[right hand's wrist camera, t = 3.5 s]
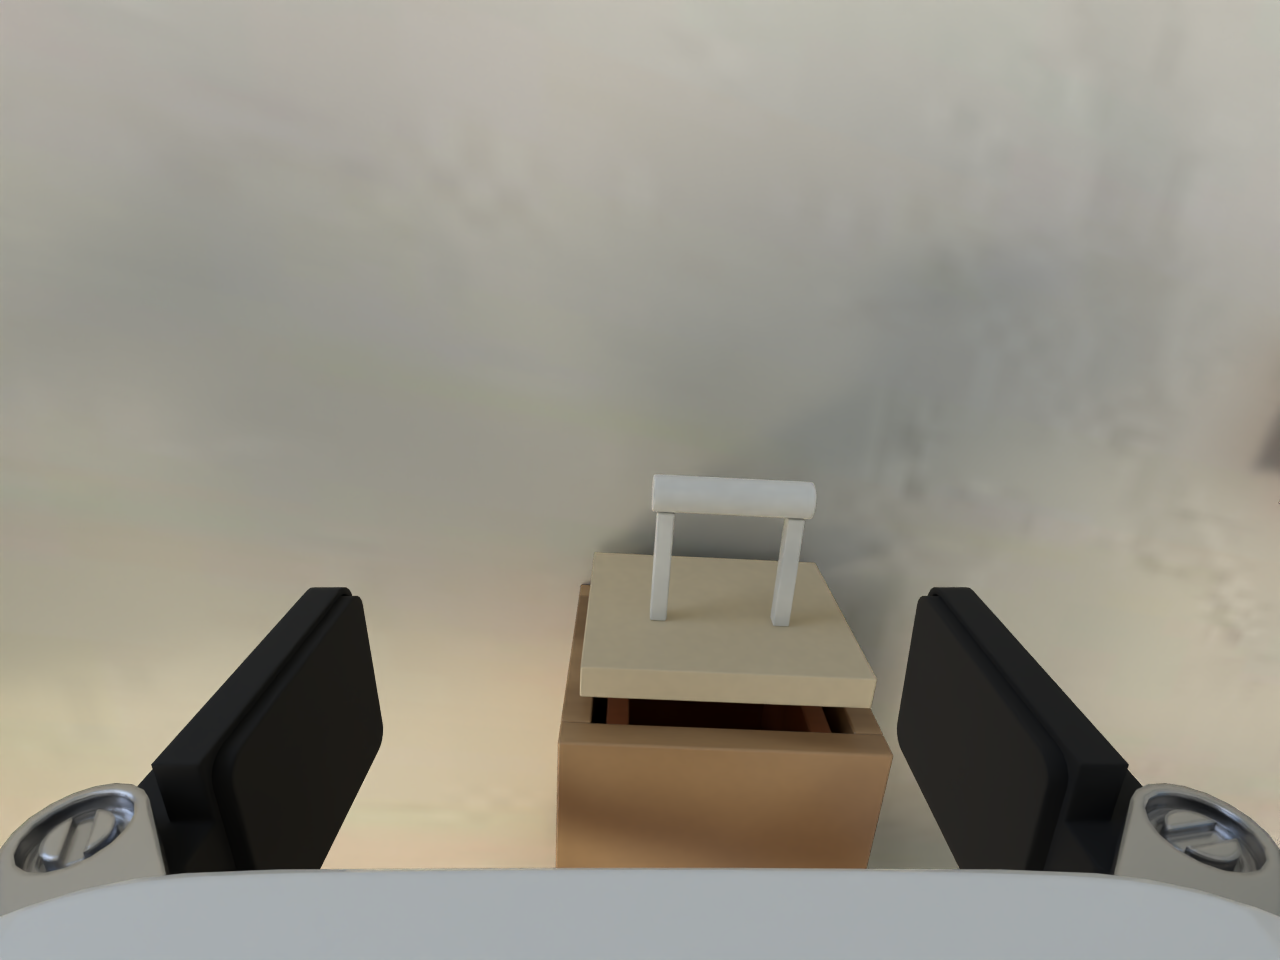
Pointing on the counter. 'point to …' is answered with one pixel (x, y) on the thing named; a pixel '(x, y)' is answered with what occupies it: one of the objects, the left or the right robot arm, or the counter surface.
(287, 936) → the right robot arm
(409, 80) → the counter surface
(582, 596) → the cabinet
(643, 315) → the counter surface
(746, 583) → the drawer
